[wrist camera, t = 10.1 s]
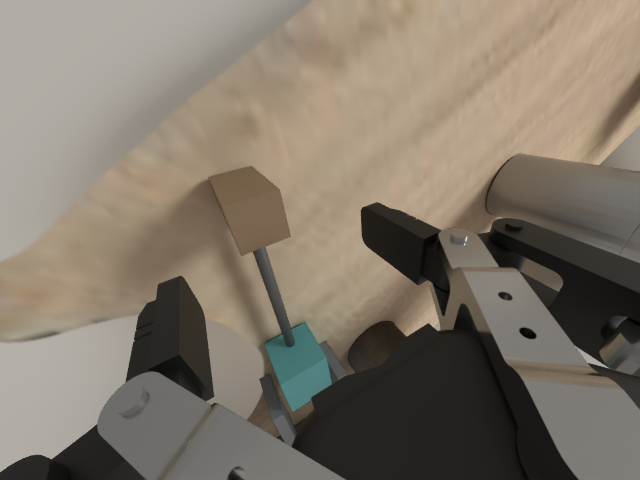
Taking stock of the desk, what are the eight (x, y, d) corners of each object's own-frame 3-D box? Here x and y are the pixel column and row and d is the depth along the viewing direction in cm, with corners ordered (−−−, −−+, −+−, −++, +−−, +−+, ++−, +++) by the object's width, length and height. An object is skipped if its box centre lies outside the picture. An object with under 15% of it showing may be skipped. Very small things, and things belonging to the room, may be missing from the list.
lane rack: (325, 340, 32) (346, 373, 28) (337, 401, 42) (354, 430, 38) (188, 419, 26) (191, 474, 22) (240, 467, 36) (248, 510, 32)
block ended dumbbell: (264, 162, 17) (296, 184, 13) (312, 351, 31) (337, 394, 26) (192, 181, 16) (200, 213, 11) (277, 371, 29) (296, 421, 25)
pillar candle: (379, 313, 35) (477, 415, 24) (403, 329, 42) (489, 417, 30) (335, 360, 36) (411, 483, 24) (365, 370, 42) (436, 471, 30)
